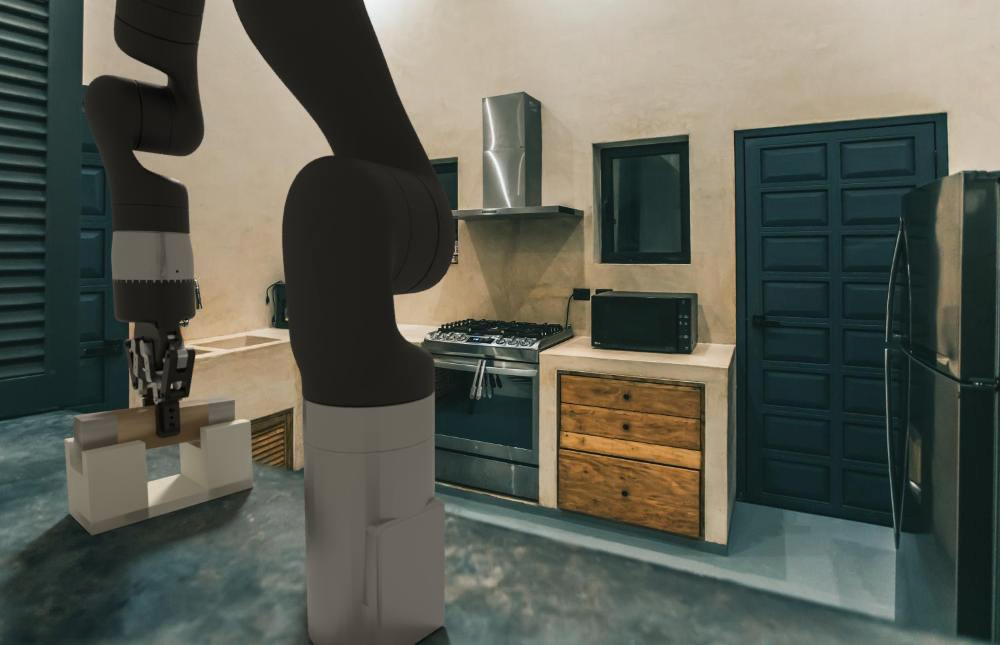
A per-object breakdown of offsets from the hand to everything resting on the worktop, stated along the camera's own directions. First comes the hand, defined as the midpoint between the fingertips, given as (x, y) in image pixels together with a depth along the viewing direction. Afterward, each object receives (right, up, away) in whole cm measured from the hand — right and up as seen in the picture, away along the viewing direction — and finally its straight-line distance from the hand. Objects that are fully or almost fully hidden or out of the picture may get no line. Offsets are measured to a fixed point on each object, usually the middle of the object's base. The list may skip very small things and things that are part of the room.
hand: (162, 432), depth 63 cm
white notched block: (0, -8, +1) cm, 8 cm away
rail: (0, -1, 0) cm, 1 cm away
